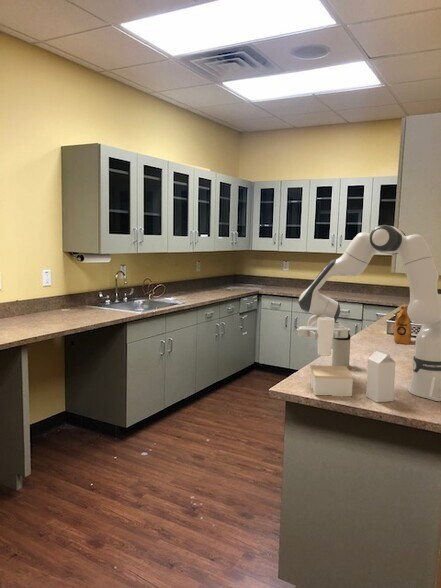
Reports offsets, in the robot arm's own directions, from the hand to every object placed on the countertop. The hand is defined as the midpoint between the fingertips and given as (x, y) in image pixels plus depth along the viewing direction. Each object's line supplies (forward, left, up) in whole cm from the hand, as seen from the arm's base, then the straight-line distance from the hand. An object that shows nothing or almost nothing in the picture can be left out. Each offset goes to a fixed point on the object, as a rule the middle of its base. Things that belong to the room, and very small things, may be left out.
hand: (325, 335), depth 186 cm
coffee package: (-59, -91, -22) cm, 111 cm away
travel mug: (-13, -35, -22) cm, 43 cm away
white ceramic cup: (0, -1, -8) cm, 8 cm away
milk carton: (-19, +11, -22) cm, 31 cm away
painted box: (-2, +3, -22) cm, 22 cm away
